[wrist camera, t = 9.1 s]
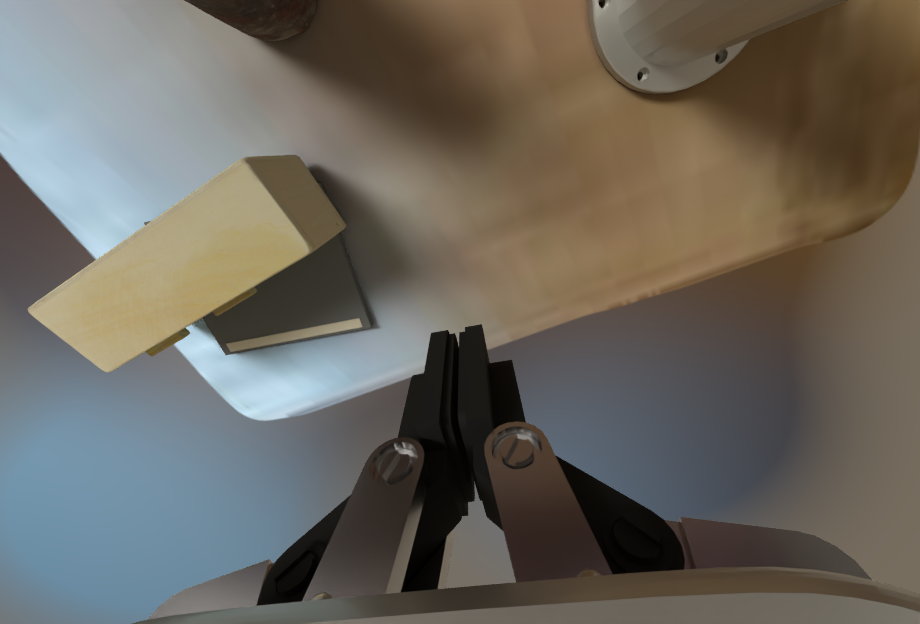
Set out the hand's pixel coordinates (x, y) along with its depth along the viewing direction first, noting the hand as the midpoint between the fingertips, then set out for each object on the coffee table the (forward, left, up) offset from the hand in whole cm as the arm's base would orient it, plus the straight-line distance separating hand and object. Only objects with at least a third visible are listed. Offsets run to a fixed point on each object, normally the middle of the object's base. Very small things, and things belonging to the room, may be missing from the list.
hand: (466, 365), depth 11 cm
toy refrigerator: (+10, -5, -16) cm, 20 cm away
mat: (+19, 0, -21) cm, 28 cm away
